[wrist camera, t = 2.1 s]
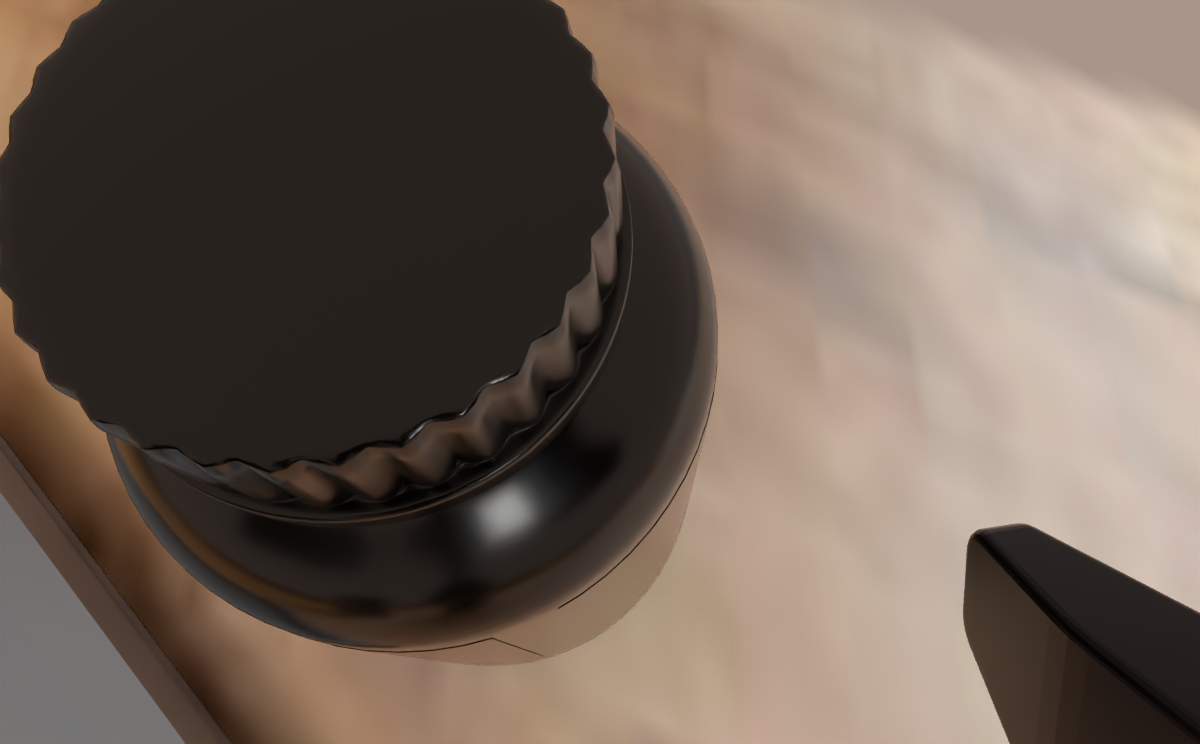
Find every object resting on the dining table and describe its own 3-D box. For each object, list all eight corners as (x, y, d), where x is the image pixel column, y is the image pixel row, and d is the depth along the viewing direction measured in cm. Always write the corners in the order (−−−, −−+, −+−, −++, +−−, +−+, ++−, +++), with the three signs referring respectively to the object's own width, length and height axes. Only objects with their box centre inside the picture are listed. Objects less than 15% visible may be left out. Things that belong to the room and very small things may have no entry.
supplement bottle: (474, 246, 20) (281, -327, 9) (756, 441, 19) (954, 58, 8) (244, 520, 19) (-348, 247, 7) (533, 753, 17) (359, 866, 6)
